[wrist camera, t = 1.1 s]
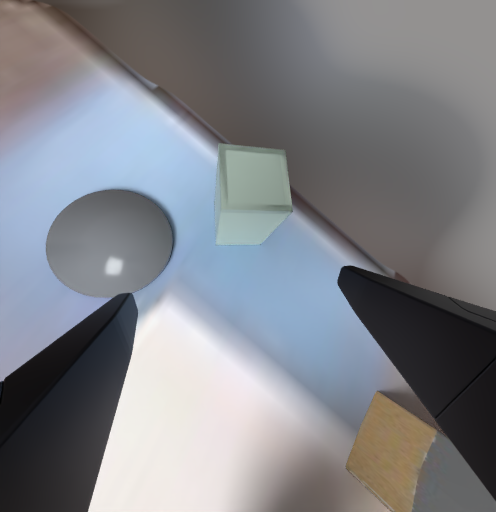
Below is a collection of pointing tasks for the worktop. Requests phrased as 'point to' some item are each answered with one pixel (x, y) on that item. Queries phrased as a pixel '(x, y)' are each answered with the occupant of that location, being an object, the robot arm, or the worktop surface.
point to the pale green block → (250, 194)
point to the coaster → (109, 243)
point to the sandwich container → (413, 464)
